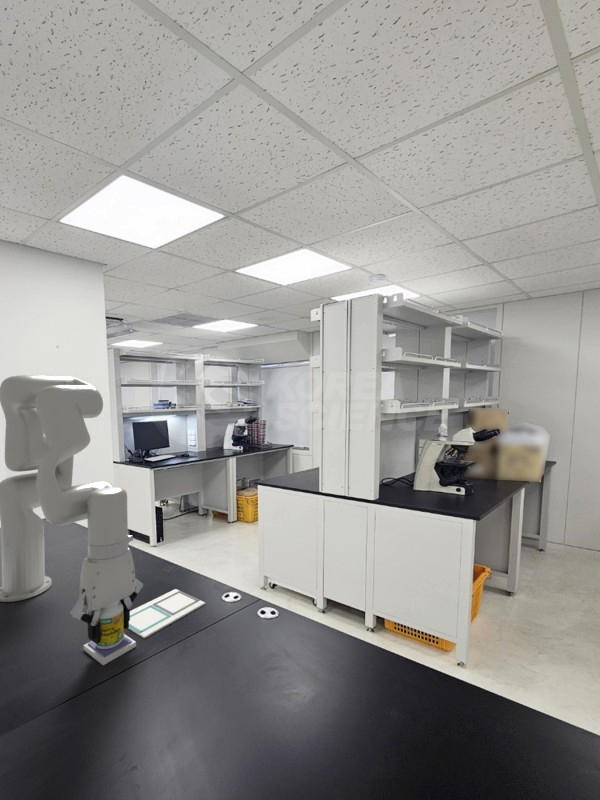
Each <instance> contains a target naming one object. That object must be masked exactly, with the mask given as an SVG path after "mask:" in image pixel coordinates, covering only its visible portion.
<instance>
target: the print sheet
mask: <svg viewBox="0 0 600 800" xmlns="http://www.w3.org/2000/svg"><path fill="white" fill-rule="evenodd" d="M204 605H206V602H205V601H202V600H201V599H198V598H197V597H194V596H192V595H189V594H188V593H185V592H184V591H181V590H179V589H177V588H174V589H172V590H171V591H169V592H166V593H164V594H162V595H160V596H158V597H156V598H154V599H152V600H151V601H147V602H146V603H144V604H142V605H139V606H138V607H135V608H134V609H132V610H131V609H130V621H129V628H127V629H128V630H129V631H131V632H133V633H134V634H136V635H138V636H140V637H141V638H142V639H146V638H148V637H150V636H151V635H153V634H155V633H157V632H158V631H161V630H162V629H164V628H166V627H167V626H169V625H170V624H173V623H174V622H176V621H178V620H180V619H181V618H183V617H185V616H186V615H189V614H190V613H192V612H194V611H196V610H197V609H199V608H201V607H203V606H204Z"/></svg>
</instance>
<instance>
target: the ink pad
mask: <svg viewBox="0 0 600 800" xmlns="http://www.w3.org/2000/svg"><path fill="white" fill-rule="evenodd" d="M136 647H137V642H136V641H135V639H132V638H131V637H129V635H126V633H124V638H123V640H122V642H121V643H120V644H118V645H117V646H115V647H113V648H110V649H100V648H98V647H97V646H96V643H94V642H93V641H92V640H90V641H89V642H87V643H85V644H83V651H85V653H87V654H88V655H89V656H91V657H92V658H93V659H95V660H96V661H97V662H98V663H100V665H102V666H104V665H106V664H108V663H111V662H112V661H113V660H115V659H117V658H118V657H120V656H122V655H124V654H125V653H128V652H130V651H131V650H133V649H134V648H136Z"/></svg>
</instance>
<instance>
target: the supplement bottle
mask: <svg viewBox="0 0 600 800" xmlns="http://www.w3.org/2000/svg"><path fill="white" fill-rule="evenodd" d="M119 601H120V600H119ZM119 601H114V602H113V603H112V604H110V605H108V606H106V607H104V608H101V611H100V615H99V618H98V623H100V632H101V641H100V643H98V644H96V646H97V647H98V648H100V649H110V648H113V647H115V646H117V645H118V644H120V643H121V642H122V640H123V638H124V634H125V630H124V629H125V628H124V616H123V605H122V604H121V603H120V602H119Z"/></svg>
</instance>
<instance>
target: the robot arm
mask: <svg viewBox="0 0 600 800" xmlns="http://www.w3.org/2000/svg"><path fill="white" fill-rule="evenodd" d="M0 406H1V408H2V412H3V414H4V418H5V438H4V462H5V463H4V464H5V466H6V468H7V469H8V470H10V471H11V472H27V471H36V470H37V472H31V473H24V474H18V475H13V476H10V477H7V478H4V479H3V480H1V481H0V543H1V586H0V602H3V603H5V602H6V603H7V602H8V603H10V602H13V603H14V602H18V601H23V600H24V601H25V600H27V599H30V598H34V597H36V596H38V595H41V594H42V593H44V592H45V591H47V590H48V589H49V588H50V587H51V585H52V584H53V583H52V581H53V580H52V578H51V577H50V576H47V575H46V573H45V569H46V568H45V567H46V566H45V562H46V561H45V525H44V521H43V519H42V517H40V515H38V514H37V513H36V512H34V509H37V508H39V507H40V509H41V511H42V513H43V516H44V518H45V520H46V521H47V522H48V523H49V524H51V526H52V525H53V526H58V527H59V526H65V525H70V524H74V523H77V522H81V521H84V520H87V556H86V557H84V559H83V561H82V566H81V570H80V571H81V572H80V576H79V577H80V578H79V590H78V592H79V593H78V600H77V601H76V603H75V604H74V606H73V608H72V609H71V610H70V612H69V615H70V616H71V617H73V618H74V619H77V620H79V621H83V622H84V623H86V624H87V638H88V639H89V640H90V641H93V642H94V643H96V644H98V643H100V641H101V632H100V623H98V618H99V615H100V611H101V608H104V607H106V606H108V605H110V604H112V603H113V602H114V601H119V600H120V601H119V602H120V603H121V604H122V605H123V616H124V629H128V628H129V621H130V611H131V608H132V606H133V603H134V601H135V599H136V598H137V596H138V593H140V591H141V590H142V589H143V587H144V583H143V582H142V581H140V580H139V579H138V578H136V569H135V563H134V559H133V555H132V551H131V549H130V548H129V547H130V546H129V544H130V543H131V542H133V540H134V536H133V535H132V534H131V535H128V533H129V532H128V529H129V528H128V494H127V491H126V490H125V489H124V488H122V487H117V486H114V485H113V484H112V483H110V482H108V481H101V480H100V481H95V482H90V483H83V484H77V485H72V484H73V473H74V472H73V469H74V456H75V455H77V454H78V453H81V451H84V449H86V448H87V447H88V446H89V445H90V442H91V436H90V433H89V430H88V427H87V425H86V422H85V419H94V418H97V417H98V416H99V415H101V413H102V411H103V408H104V401H103V396H102V394H101V393H100V391H99V390H98V388H96V387H95V385H92V384H91V383H88V382H86V381H84V380H81V379H79V378H77V377H73V376H53V375H51V376H50V375H33V374H31V375H30V374H29V375H26V374H25V375H23V374H22V375H13V376H12V375H11V376H9V377H7V378H4V380H3V381H2V382H1V383H0ZM85 606H87V610H86V612H84V611H83V609H84V608H85Z"/></svg>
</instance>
